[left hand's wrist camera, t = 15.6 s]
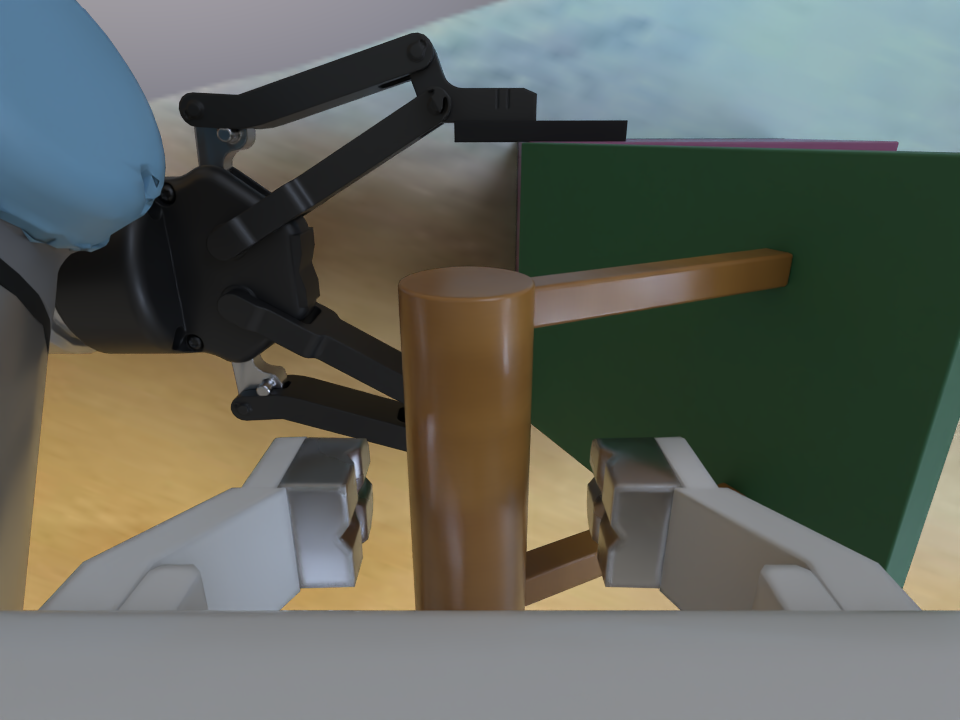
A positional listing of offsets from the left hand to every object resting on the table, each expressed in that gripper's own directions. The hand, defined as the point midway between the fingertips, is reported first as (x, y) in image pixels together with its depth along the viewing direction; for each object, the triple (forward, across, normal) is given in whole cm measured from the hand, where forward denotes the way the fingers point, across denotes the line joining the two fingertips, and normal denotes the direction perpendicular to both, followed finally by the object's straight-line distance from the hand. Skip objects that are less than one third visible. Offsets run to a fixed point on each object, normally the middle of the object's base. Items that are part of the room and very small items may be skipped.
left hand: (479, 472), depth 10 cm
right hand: (+16, +6, 0) cm, 17 cm away
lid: (+7, +5, 0) cm, 9 cm away
